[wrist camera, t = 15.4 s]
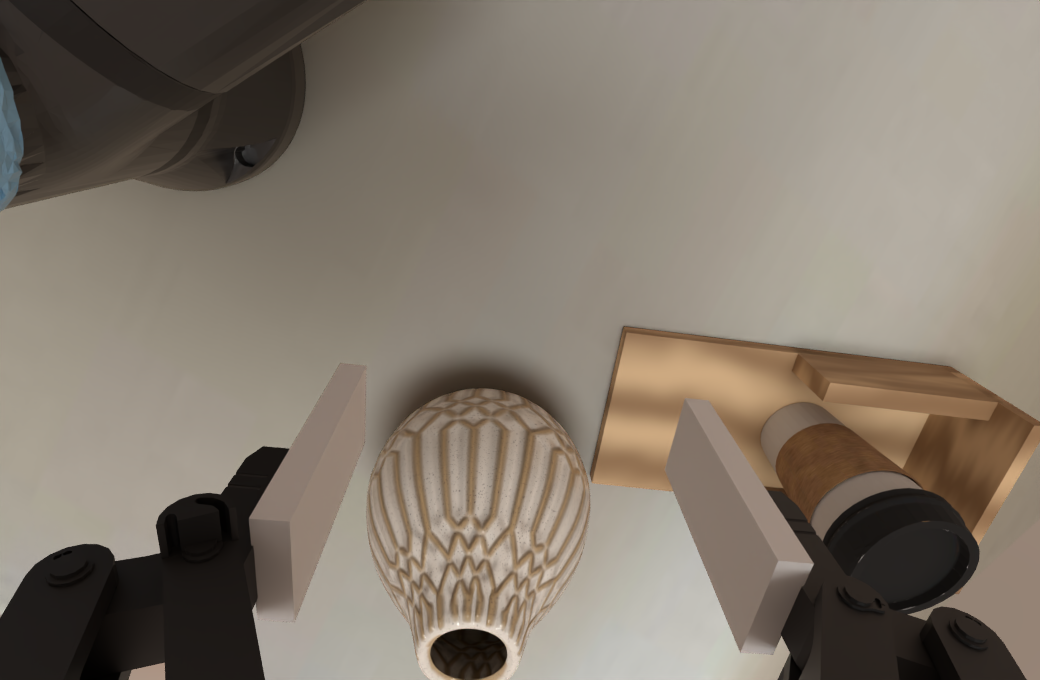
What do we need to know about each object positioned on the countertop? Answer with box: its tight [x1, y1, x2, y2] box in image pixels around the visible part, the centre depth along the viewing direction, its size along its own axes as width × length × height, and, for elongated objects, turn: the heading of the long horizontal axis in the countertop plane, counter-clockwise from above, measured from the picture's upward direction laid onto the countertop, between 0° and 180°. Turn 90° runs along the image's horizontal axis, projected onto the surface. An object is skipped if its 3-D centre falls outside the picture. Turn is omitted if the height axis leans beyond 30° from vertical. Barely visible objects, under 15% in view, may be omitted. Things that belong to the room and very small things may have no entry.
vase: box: [366, 388, 590, 680], centre depth 39 cm, size 16×16×20 cm
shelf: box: [590, 327, 1040, 594], centre depth 43 cm, size 14×27×10 cm, turn 82°
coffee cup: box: [761, 402, 979, 614], centre depth 40 cm, size 8×8×15 cm
